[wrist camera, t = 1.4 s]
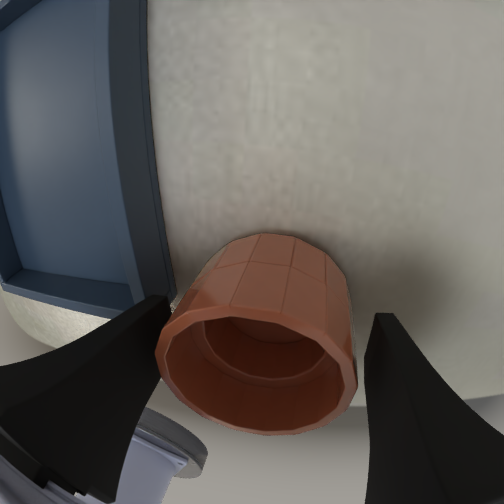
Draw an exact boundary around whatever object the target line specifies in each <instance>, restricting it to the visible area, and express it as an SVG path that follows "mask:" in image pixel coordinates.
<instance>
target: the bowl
mask: <svg viewBox="0 0 504 504" xmlns="http://www.w3.org/2000/svg"><path fill="white" fill-rule="evenodd" d="M354 336H355V335H354V324H353V314H352V305H351V298H350V294H349V290H348V285H347V281H346V277H345V275H344V274H343V273H342V271H341V270H340V269H339V268H338V266H337V265H336V264H335V263H334V262H333V260H332V259H331V258H330V257H329V255H328V254H327V253H324V252H323V251H321V250H319V249H317V248H315V247H314V246H312V245H310V244H308V243H306V242H304V241H302V240H300V239H298V238H296V237H294V236H286V235H277V234H268V233H262V234H256V235H253V236H249V237H245V238H241V239H238V240H234V241H232V242H230V243H228V244H227V245H226V246H224V247H223V248H222V249H221V250H219V251H218V252H217V253H216V254H215V255H213V256H212V257H211V258H210V259H209V260H208V262H207V263H206V265H205V266H204V268H203V269H202V271H201V272H200V273H199V275H198V276H197V278H196V279H195V281H194V282H193V284H192V285H191V287H190V288H189V290H188V291H187V292H186V294H185V295H184V297H183V298H182V300H181V301H180V303H179V304H178V306H177V307H176V309H175V310H174V312H173V313H172V315H171V317H170V318H169V320H168V321H167V323H166V324H165V326H164V327H163V329H162V331H161V334H160V337H159V340H158V343H157V346H156V349H155V357H156V361H157V365H158V368H159V372H160V375H161V377H162V379H163V381H164V382H165V383H166V384H167V386H168V387H169V388H170V390H171V391H172V392H173V393H174V394H175V396H176V397H177V398H178V399H179V400H180V401H181V402H183V403H184V404H185V405H187V406H188V407H189V408H191V409H192V410H194V411H195V412H196V413H198V414H199V415H201V416H202V417H204V418H206V419H208V420H211V421H213V422H215V423H218V424H220V425H223V426H225V427H228V428H230V429H233V430H238V431H242V432H247V433H253V434H259V435H267V436H271V435H295V434H300V433H303V432H307V431H310V430H314V429H317V428H320V427H323V426H325V425H327V424H328V423H330V422H331V421H333V420H334V419H335V418H337V417H338V416H340V415H341V414H342V413H344V412H345V411H346V410H347V409H348V407H349V405H350V403H351V401H352V399H353V397H354V394H355V392H356V390H357V388H358V376H357V360H356V346H355V337H354Z"/></svg>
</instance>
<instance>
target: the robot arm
mask: <svg viewBox="0 0 504 504" xmlns="http://www.w3.org/2000/svg"><path fill="white" fill-rule="evenodd" d="M171 315H172V312H171V308H170V304H169V300H168V296H162V295H155V294H153V295H151V296H149V297H147V298H145V299H144V300H142V301H140V302H139V303H137V304H135V305H134V306H132V307H131V308H129V309H127V310H126V311H124V312H123V313H121V314H119V315H118V316H116V317H115V318H113V319H112V320H110V321H108V322H107V323H105V324H103V325H102V326H100V327H98V328H96V329H95V330H93V331H91V332H90V333H88V334H86V335H84V336H83V337H81V338H79V339H77V340H75V341H73V342H71V343H69V344H67V345H64V346H62V347H60V348H58V349H56V350H53V351H51V352H48V353H45V354H42V355H40V356H37V357H34V358H31V359H28V360H24V361H21V362H17V363H13V364H9V365H4V366H0V504H161V503H162V500H163V498H164V496H165V493H166V491H167V488H168V486H169V484H170V481H171V478H172V477H173V476H174V475H175V474H176V473H178V472H179V471H180V470H181V469H182V468H183V467H185V466H186V465H187V463H188V461H187V460H186V459H185V458H182V457H180V456H178V455H175V454H173V453H171V452H169V451H167V450H164V449H162V448H160V447H158V446H156V445H154V444H152V443H150V442H148V441H146V440H144V439H142V438H140V437H138V436H136V435H134V431H135V429H136V426H137V423H138V421H139V418H140V416H141V414H142V412H143V410H144V408H145V406H146V404H147V402H148V400H149V398H150V396H151V395H152V393H153V391H154V389H155V388H156V386H157V384H158V382H159V380H160V379H161V375H160V372H159V368H158V365H157V361H156V357H155V349H156V346H157V343H158V340H159V337H160V334H161V331H162V329H163V327H164V326H165V324H166V323H167V321H168V320H169V318H170V317H171ZM364 385H365V394H366V404H367V414H368V424H369V436H370V457H369V472H368V482H367V491H366V499H365V504H504V435H503V434H501V433H500V432H499V431H497V430H496V429H495V428H493V427H492V426H491V425H490V424H488V423H487V422H486V421H485V420H484V419H482V418H481V417H480V416H479V415H478V414H477V413H476V412H475V411H473V410H472V409H471V408H470V407H469V406H468V405H467V404H466V403H465V402H464V401H463V400H462V399H461V398H460V397H459V396H458V395H457V394H456V393H455V392H454V391H453V390H452V389H451V388H450V386H449V385H448V384H447V383H446V382H445V381H444V380H443V379H442V377H441V376H440V375H439V374H438V373H437V371H436V370H435V369H434V368H433V367H432V365H431V364H430V363H429V361H428V360H427V359H426V357H425V356H424V355H423V353H422V352H421V351H420V349H419V348H418V347H417V345H416V344H415V343H414V341H413V340H412V338H411V337H410V336H409V334H408V333H407V331H406V330H405V329H404V327H403V326H402V324H401V323H400V322H399V320H398V319H397V318H396V316H395V315H394V314H393V313H375V317H374V321H373V326H372V330H371V334H370V337H369V341H368V345H367V349H366V352H365V356H364ZM75 492H77V495H76V497H75V496H74V494H75Z"/></svg>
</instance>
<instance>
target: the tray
mask: <svg viewBox="0 0 504 504" xmlns="http://www.w3.org/2000/svg"><path fill="white" fill-rule="evenodd" d="M146 6H147V0H1V1H0V284H1V286H2V288H3V290H4V291H6V292H10V293H13V294H16V295H19V296H23V297H26V298H29V299H33V300H36V301H40V302H43V303H47V304H50V305H54V306H58V307H62V308H66V309H70V310H74V311H78V312H82V313H86V314H90V315H94V316H99V317H103V318H108V319H113V318H115V317H116V316H118V315H119V314H121V313H123V312H124V311H126V310H127V309H129V308H131V307H132V306H134V305H135V304H137V303H139V302H140V301H142V300H144V299H145V298H147V297H149V296H151V295H153V294H155V295H162V296H168V300H169V304H171V302H172V300H174V298H175V297H176V295H177V292H176V287H175V282H174V277H173V272H172V267H171V261H170V256H169V251H168V245H167V239H166V233H165V227H164V221H163V215H162V208H161V201H160V194H159V187H158V180H157V172H156V164H155V155H154V146H153V136H152V125H151V114H150V101H149V86H148V67H147V31H146Z"/></svg>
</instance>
